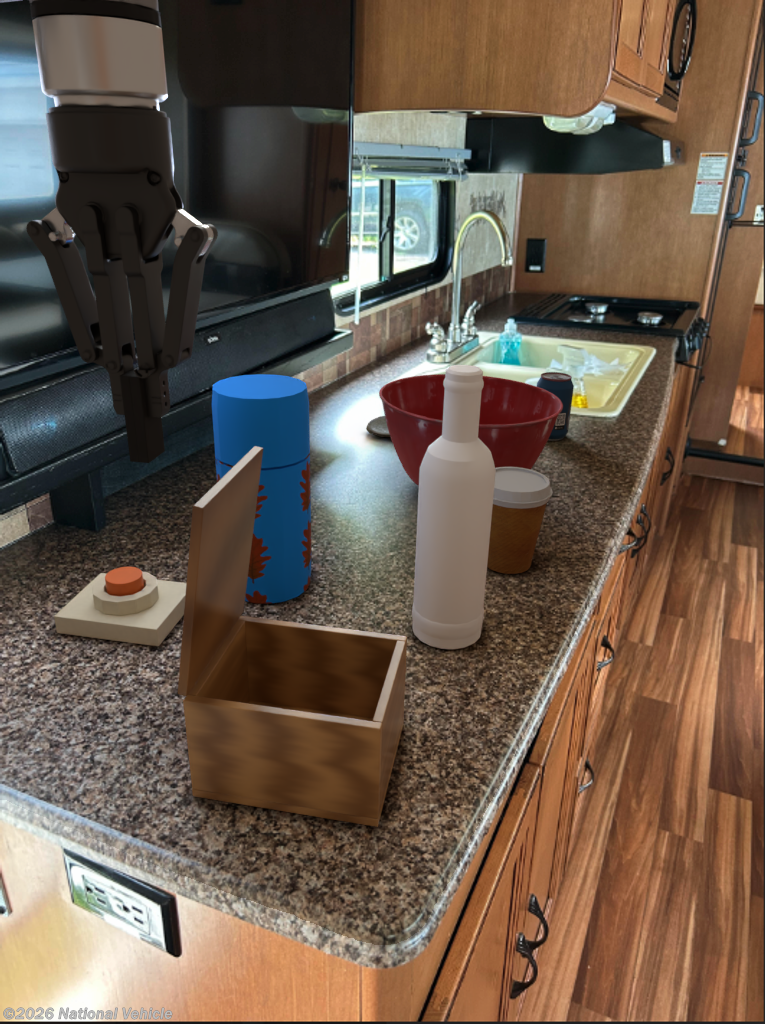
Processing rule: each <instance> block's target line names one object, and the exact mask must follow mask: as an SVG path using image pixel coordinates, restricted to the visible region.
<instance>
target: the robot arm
mask: <svg viewBox="0 0 765 1024" xmlns="http://www.w3.org/2000/svg"><path fill="white" fill-rule="evenodd" d="M21 1H22V0H0V4H2V3H10V2H21ZM28 1H29V9H30V16H31V20H32V29H33V36H34V43H35V44H34V45H35V50H36V51H35V52H36V58H37V59H36V60H37V65H38V72H39V73H38V74H39V81H40V86H41V92H42V93H43V94H44V95H45V96H46V97H48V98H51V99H53V103H54V106H52V107H51V106H50V107H48V108H47V110H48V112H46V113H45V118H46V126H47V134H48V140H49V148H50V155H51V162H52V165H53V167H54V169H55V171H56V174H57V178H58V186H57V190H56V192H55V196H54V204H55V207H54V208H53V209H52V210H50V211H49V212H48V213H47V214H46V215H44V217H43V218H41V219H34V220H30V221H28V222H27V223H26V227H25V228H26V233H27V235H28V236H29V238H30V239H31V240H32V242H33V243H34V245H35V246H36V248H37V249H38V251H39V252H40V254H41V255H42V256H43V258H44V260H45V263H46V265H47V268H48V271H49V273H50V277H51V280H52V282H53V285H54V287H55V290H56V293H57V297H58V298H59V301H60V304H61V307H62V309H63V313H64V315H65V318H66V320H67V324H68V326H69V330H70V332H71V335H72V338H73V341H74V343H75V345H76V348H77V351H78V354H79V356H80V358H81V360H82V361H83V362H84V363H86V364H92V363H93V364H96V365H98V366H101V367H102V368H104V369H105V370H106V371H107V373H108V376H109V383H110V390H111V398H112V399H111V400H112V406H113V410H114V411H115V414H116V415H118V416H119V415H120V416H124V422H125V430H126V431H125V432H126V438H127V447H128V455H129V462H132V463H143V464H150V463H151V462H153V461H154V460H155V459H156V458H158V457H159V456H160V455H162V454H163V453H164V452H165V451H166V449H165V440H164V439H165V438H164V429H163V422H162V421H163V419H162V418H163V417H164V416H165V415H167V414H169V412H170V410H171V407H172V406H171V399H170V398H171V396H170V386H169V385H170V384H169V376H168V375H169V370H170V369H174V368H177V367H178V366H180V365H181V364H183V363H186V362H187V361H189V360H190V359H191V357H192V355H193V354H192V353H193V348H194V342H195V341H194V340H195V334H196V327H197V322H198V321H197V319H198V313H199V307H200V301H201V300H200V299H201V294H202V288H203V287H202V286H203V280H204V272H205V266H206V259H207V258H208V256H209V254H210V252H211V251H212V248H213V247H214V245H215V243H216V241H217V238H218V236H219V233H218V229H217V228H216V226H215V225H213V224H211V223H205V224H204V223H202V222H201V221H199V220H198V219H196V218H195V217H194V216H193V215H191V214H190V213H189V212H187V211H186V210H185V209H184V202H183V199H182V197H181V195H180V193H179V192H178V189H177V187H176V184H175V181H174V180H175V179H174V174H175V160H174V150H173V137H172V126H171V118H170V117H169V116H168V115H167V112H166V111H163V110H160V103H163V102H165V101H166V100H167V99H168V97H169V95H168V94H169V93H168V92H169V91H168V83H167V72H166V62H165V61H166V60H165V51H164V40H163V30H162V28H163V26H162V19H161V13H162V12H160V10H159V0H28ZM173 231H174V238H173V244H174V245H175V246H176V248H177V250H176V253H175V256H174V258H173V259H174V260H173V264H172V271H171V272H172V273H171V278H170V287H169V293H168V294H169V295H168V302H167V312H166V314H165V305H164V304H165V303H164V295H163V293H164V292H163V285H162V284H163V283H162V271H163V267H164V263H163V254H162V253H163V251H162V250H163V249H164V247H165V245H166V243H167V241H168V240H169V238H170V236H171V234H172V232H173ZM75 237H77V239H78V240H79V241H80V243H81V244H82V246H83V247H84V249H85V257H86V264H87V269H88V272H89V273H90V274H91V275H92V279H93V280H92V281H93V288H94V291H93V288H92V285H91V282H90V279H89V276H88V272H87V270H86V267H85V264H84V261H83V259H82V256H81V253H80V251H79V248H78V247H77V244H76V243H75V241H74V239H75ZM136 364H137V367H134V366H135V365H136Z"/></svg>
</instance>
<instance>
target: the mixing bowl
mask: <svg viewBox="0 0 765 1024" xmlns="http://www.w3.org/2000/svg"><path fill="white" fill-rule="evenodd" d="M445 374H446V373H437V374H436V373H435V374H423V375H422V374H421V375H414V376H407V377H402V378H399V379H396V380H393V381H390V382H388V383H386V384H384V385H383V386H381V388H380V389H379V392H378V396H379V399H380V400H381V404H382V408H383V413H384V416H385V419H386V423H387V427H388V430H389V434H390V437H389V438H390V440H391V443H392V446H393V448H394V452H395V453H396V456H397V458H398V460H399V462H400V464H401V466H402V468H403V470H404V471H405V473H406V475H407V476H408V478H409V479H410V480H411V481H412V482H413V483H414V484H415V485H417V486H418V487H419V471H420V466H421V463H422V460H423V458H424V455H425V453H426V451H427V449H428V447H429V445H431V444H432V443H433V442H434V441H435V440H437V439H438V438H439V437H440V436H442V426H443V409H444V391H445V388H444V385H443V381H444V379H445ZM483 382H484V386H483V389H482V391H481V404H480V417H479V430H478V438H479V439H480V440H481V441H482V442H483V443H484V444H485V445H486V446H487V447H488V449H489V450H490V451H491V454H492V458H493V461H494V465H495V468H498V467H519V468H526V469H530V470H532V468H533V467H534V465H535V464H536V463H537V461H538V459H539V457H540V456H541V455H542V452H543V451H544V449H545V447H546V445H547V443H548V441H549V440H548V438H549V436H550V434H551V432H552V429H553V427H554V424H555V422H556V419H557V417H558V414H559V413H560V412H561V411H562V409H563V404H562V402H561V400H560V399H559V398H558V397H557V396H555V395H554V394H552V393H551V392H549V391H546V390H544V389H542V388H539V387H537V385H533V384H530V383H526V382H522V381H518V380H514V379H509V378H503V377H497V376H487V375H483Z"/></svg>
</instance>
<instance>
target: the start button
mask: <svg viewBox="0 0 765 1024" xmlns="http://www.w3.org/2000/svg"><path fill="white" fill-rule="evenodd" d="M142 572H143V571H142V570H141V569H140V568H138V567H135V566H121V567H116V568H114V569H111V570H109V571H108V572H107V573H106V576H105V582H106V589H107V593H108V594H109V595H113V596H126V595H133V594H135V593H137V592H140V591H142V590H143V588H144V582H143V574H142Z"/></svg>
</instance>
